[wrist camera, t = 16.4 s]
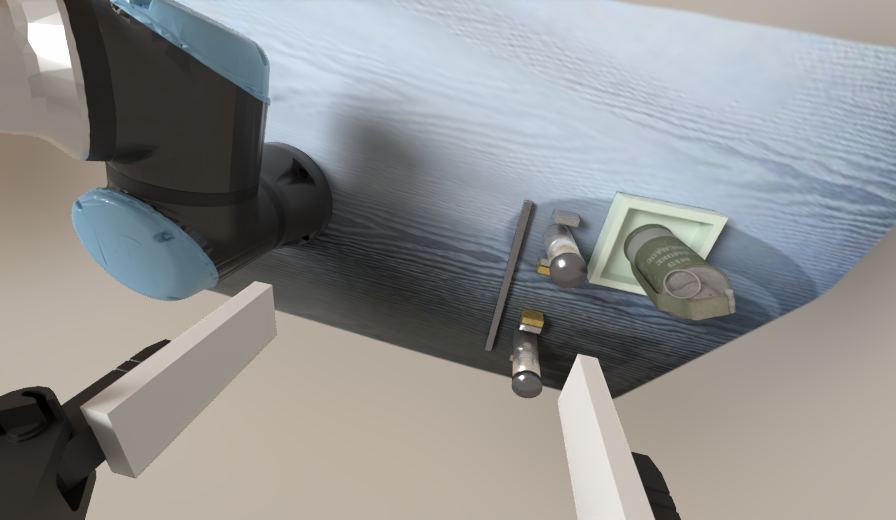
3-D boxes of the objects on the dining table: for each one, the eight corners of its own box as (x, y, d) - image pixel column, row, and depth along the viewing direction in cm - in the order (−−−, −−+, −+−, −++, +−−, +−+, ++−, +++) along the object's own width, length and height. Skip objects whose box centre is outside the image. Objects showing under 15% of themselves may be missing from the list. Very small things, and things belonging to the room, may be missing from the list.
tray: (585, 272, 46) (589, 282, 44) (616, 191, 41) (623, 197, 39) (670, 291, 45) (680, 302, 43) (714, 210, 40) (728, 218, 38)
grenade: (671, 217, 41) (747, 270, 28) (677, 259, 43) (751, 329, 29) (616, 231, 43) (662, 289, 29) (624, 272, 45) (671, 342, 31)
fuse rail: (485, 345, 55) (478, 397, 45) (524, 199, 44) (527, 226, 34) (529, 356, 54) (533, 412, 44) (581, 211, 43) (600, 242, 33)
